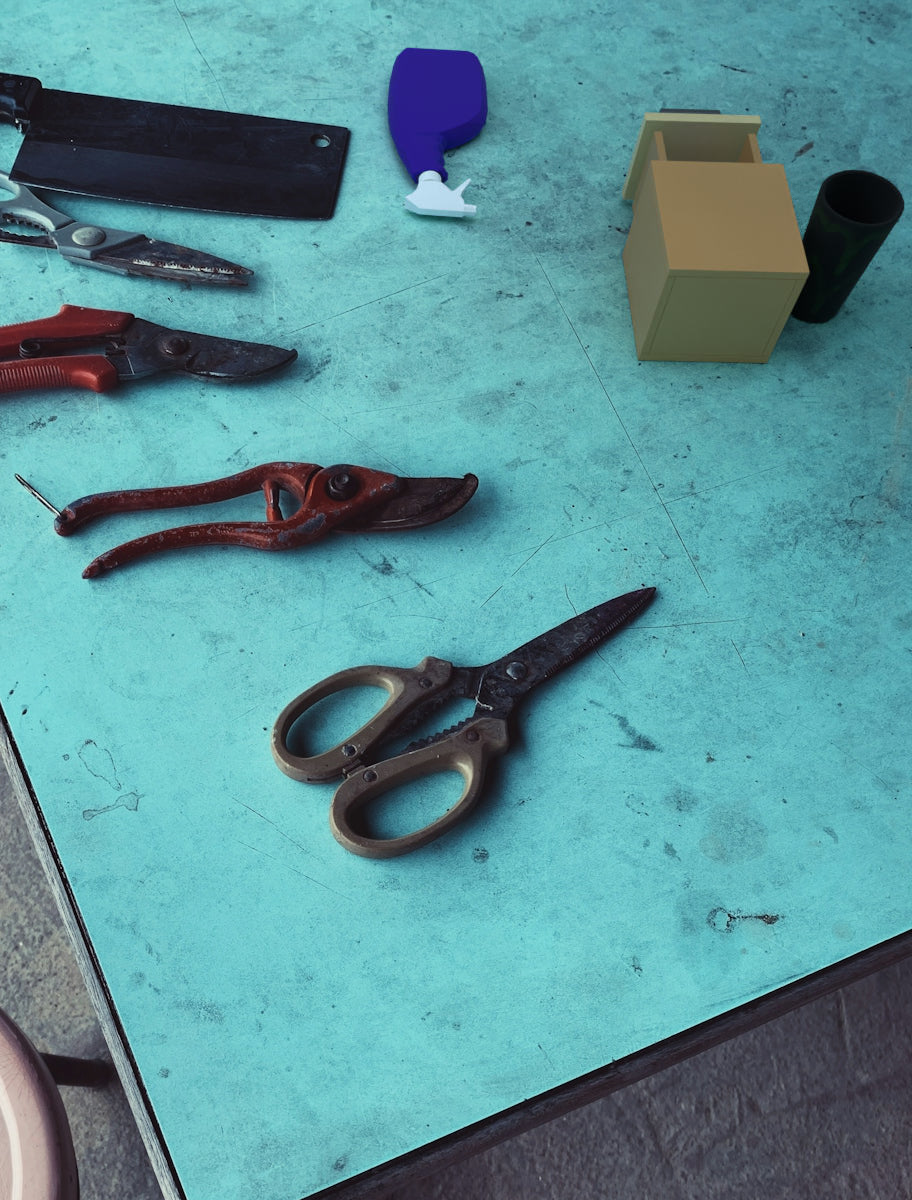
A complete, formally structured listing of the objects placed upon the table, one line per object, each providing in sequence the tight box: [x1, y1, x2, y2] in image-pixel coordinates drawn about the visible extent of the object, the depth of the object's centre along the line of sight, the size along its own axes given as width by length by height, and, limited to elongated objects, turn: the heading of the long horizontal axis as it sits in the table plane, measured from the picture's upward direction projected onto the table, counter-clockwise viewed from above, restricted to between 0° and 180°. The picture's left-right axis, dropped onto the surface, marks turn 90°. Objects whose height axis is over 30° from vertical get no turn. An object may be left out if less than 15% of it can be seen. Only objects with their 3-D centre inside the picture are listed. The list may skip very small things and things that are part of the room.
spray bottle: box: [387, 47, 489, 218], centre depth 128 cm, size 3×11×24 cm
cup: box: [790, 169, 905, 325], centre depth 114 cm, size 8×8×12 cm
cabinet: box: [621, 160, 810, 364], centre depth 114 cm, size 15×13×11 cm
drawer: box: [621, 107, 764, 217], centre depth 119 cm, size 18×11×9 cm, turn 0°
